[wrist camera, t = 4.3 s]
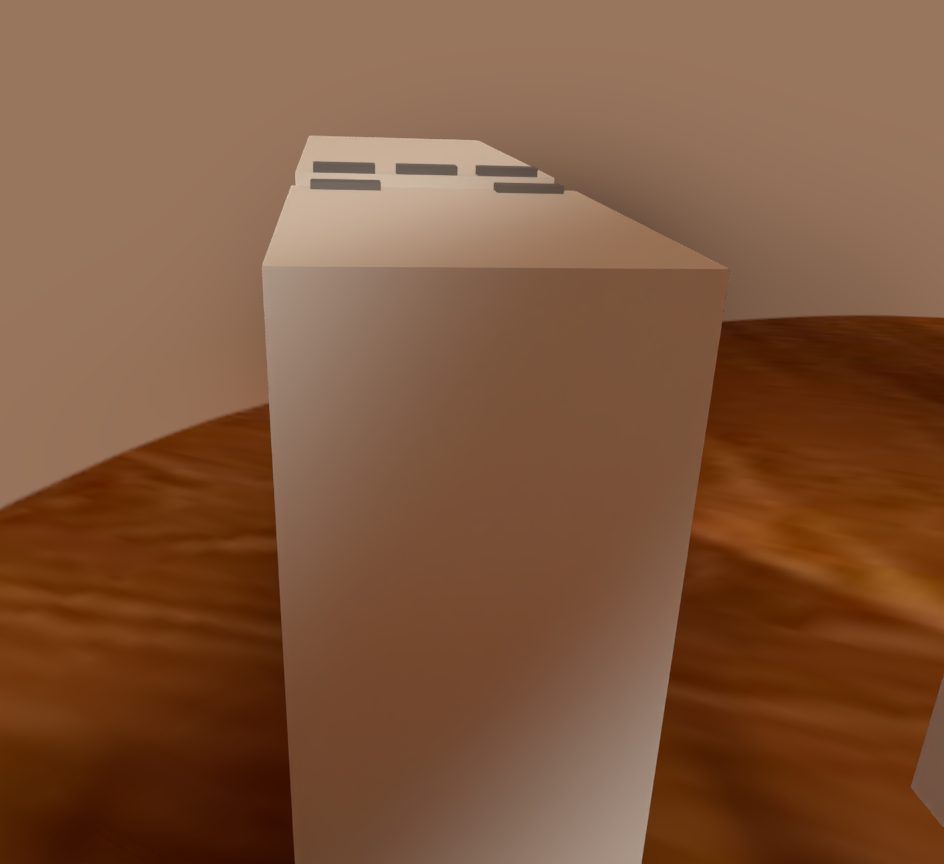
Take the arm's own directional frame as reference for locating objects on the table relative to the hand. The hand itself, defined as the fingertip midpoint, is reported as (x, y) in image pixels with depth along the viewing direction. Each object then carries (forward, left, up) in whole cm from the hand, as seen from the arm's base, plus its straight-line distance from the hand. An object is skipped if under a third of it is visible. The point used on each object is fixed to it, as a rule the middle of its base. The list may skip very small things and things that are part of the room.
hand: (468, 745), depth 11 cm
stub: (-1, -6, -6) cm, 9 cm away
